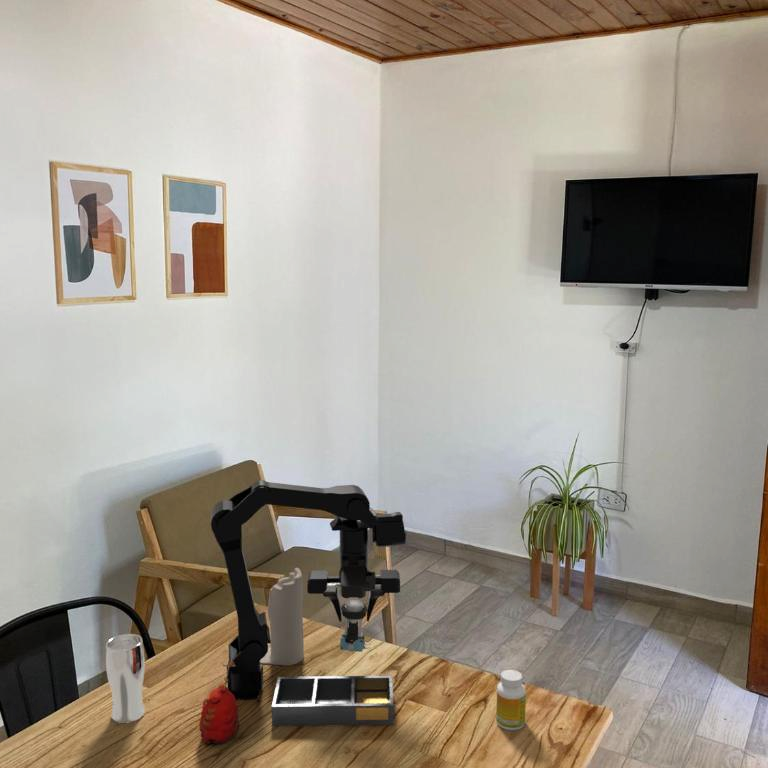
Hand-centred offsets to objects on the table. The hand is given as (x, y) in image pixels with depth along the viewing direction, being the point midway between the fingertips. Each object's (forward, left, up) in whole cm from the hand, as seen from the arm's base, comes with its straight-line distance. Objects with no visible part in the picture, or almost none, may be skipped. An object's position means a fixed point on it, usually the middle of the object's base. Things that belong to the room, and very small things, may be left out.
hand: (354, 620), depth 161 cm
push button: (0, 0, -6) cm, 7 cm away
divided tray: (-4, -11, -13) cm, 18 cm away
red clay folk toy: (-24, -19, -13) cm, 34 cm away
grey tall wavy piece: (-18, +10, -13) cm, 25 cm away
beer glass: (-43, -12, -13) cm, 47 cm away
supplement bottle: (+30, -16, -13) cm, 36 cm away
